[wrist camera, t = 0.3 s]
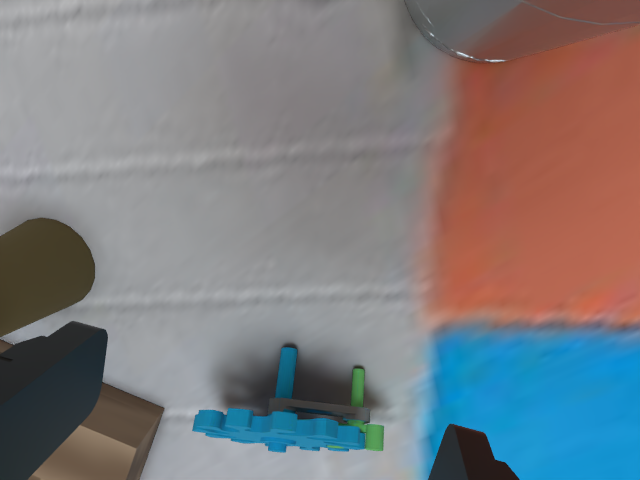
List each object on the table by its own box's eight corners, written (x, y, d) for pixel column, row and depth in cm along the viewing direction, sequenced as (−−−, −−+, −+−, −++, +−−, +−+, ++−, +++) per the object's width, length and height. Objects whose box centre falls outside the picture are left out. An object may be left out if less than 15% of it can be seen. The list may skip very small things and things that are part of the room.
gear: (197, 448, 32) (177, 432, 23) (215, 358, 35) (203, 313, 26) (362, 466, 33) (404, 457, 24) (367, 377, 36) (405, 339, 27)
